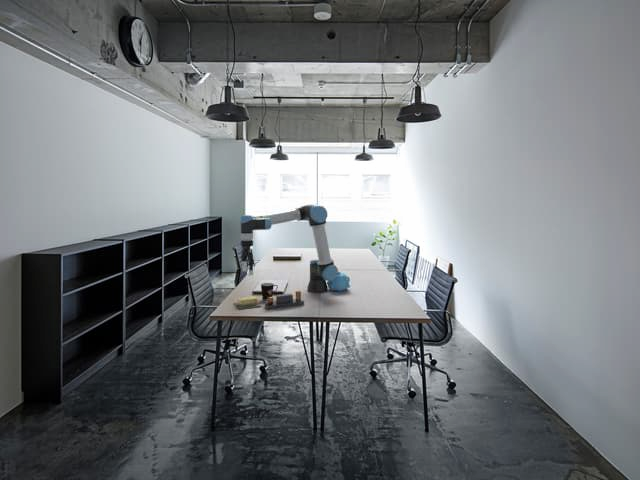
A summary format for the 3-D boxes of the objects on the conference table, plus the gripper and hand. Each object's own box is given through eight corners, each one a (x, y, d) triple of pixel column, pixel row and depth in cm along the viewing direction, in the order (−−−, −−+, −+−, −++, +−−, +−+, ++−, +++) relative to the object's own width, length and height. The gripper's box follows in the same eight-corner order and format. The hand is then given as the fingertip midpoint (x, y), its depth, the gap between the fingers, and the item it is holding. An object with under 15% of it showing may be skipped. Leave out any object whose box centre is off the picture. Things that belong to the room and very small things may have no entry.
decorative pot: (351, 292, 276) (351, 274, 274) (329, 292, 274) (329, 274, 272) (346, 286, 292) (347, 269, 290) (326, 287, 290) (326, 269, 289)
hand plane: (299, 302, 249) (299, 289, 248) (304, 304, 242) (304, 292, 241) (264, 306, 238) (264, 293, 237) (268, 309, 232) (268, 296, 231)
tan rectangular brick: (254, 302, 245) (254, 296, 245) (257, 304, 240) (257, 298, 240) (237, 304, 240) (237, 298, 240) (240, 306, 235) (240, 300, 235)
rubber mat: (254, 301, 250) (254, 300, 250) (261, 306, 237) (261, 305, 237) (233, 303, 243) (233, 302, 243) (239, 309, 231) (239, 308, 231)
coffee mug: (261, 300, 251) (261, 286, 250) (260, 297, 259) (260, 283, 258) (278, 299, 253) (278, 285, 252) (277, 296, 262) (277, 282, 261)
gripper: (235, 238, 245) (236, 270, 248) (246, 242, 223) (247, 277, 226) (247, 237, 249) (247, 269, 251) (259, 241, 227) (259, 276, 229)
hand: (247, 273), depth 238 cm, fingers open, 13 cm apart
